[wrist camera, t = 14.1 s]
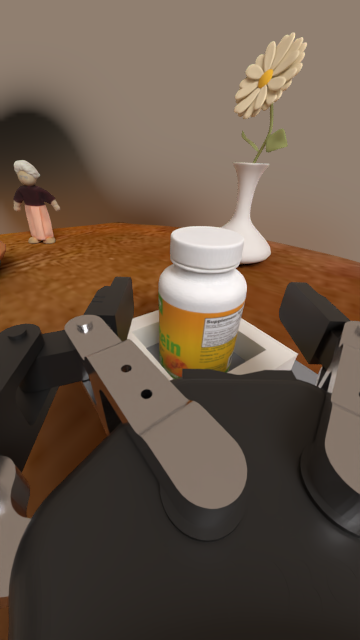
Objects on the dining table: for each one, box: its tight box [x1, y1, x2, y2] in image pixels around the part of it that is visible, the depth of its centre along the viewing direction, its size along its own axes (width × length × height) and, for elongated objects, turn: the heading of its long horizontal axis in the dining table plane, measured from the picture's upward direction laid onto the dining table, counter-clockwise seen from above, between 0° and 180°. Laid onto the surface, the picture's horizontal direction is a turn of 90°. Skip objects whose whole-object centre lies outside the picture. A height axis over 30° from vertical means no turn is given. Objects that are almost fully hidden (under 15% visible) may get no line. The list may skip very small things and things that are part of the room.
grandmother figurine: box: [14, 160, 60, 243], centre depth 41 cm, size 8×4×13 cm, turn 105°
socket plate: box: [127, 310, 318, 385], centre depth 18 cm, size 14×14×3 cm
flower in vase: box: [221, 33, 307, 264], centre depth 33 cm, size 13×11×25 cm
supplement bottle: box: [159, 226, 247, 379], centre depth 15 cm, size 5×5×10 cm
